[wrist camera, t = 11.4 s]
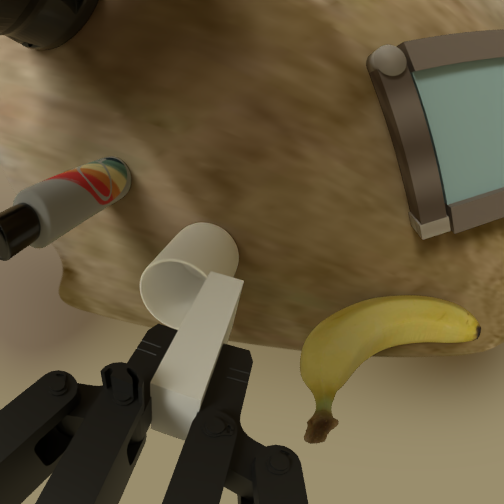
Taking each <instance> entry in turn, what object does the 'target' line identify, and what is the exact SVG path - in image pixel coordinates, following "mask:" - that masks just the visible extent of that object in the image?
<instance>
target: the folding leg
mask: <svg viewBox="0 0 504 504" xmlns="http://www.w3.org/2000/svg"><path fill="white" fill-rule="evenodd" d="M366 66H367V69H368V71H369V74H370V77H371V79H372V82H373V85H374V87H375V90H376V93H377V96H378V98H379V101H380V104H381V107H382V110H383V113H384V116H385V119H386V122H387V125H388V128H389V132H390V135H391V138H392V141H393V145H394V148H395V152H396V155H397V159H398V163H399V166H400V170H401V174H402V178H403V182H404V186H405V190H406V195H407V199H408V203H409V208H410V212H409V217H410V222H411V226H412V227H413V228H414V229H415V231H416V232H417V233H418V235H419V236H420V237H421V239H422V240H424V239H427V238H430V237H433V236H436V235H439V234H443V233H446V232H449V231H451V230H450V222H449V217H448V216H447V215H446V209H445V203H444V198H443V192H442V187H441V182H440V177H439V172H438V167H437V163H436V158H435V154H434V150H433V146H432V142H431V138H430V134H429V131H428V127H427V124H426V120H425V117H424V113H423V110H422V107H421V104H420V100H419V97H418V94H417V91H416V88H415V85H414V83H413V80H412V77H411V74H410V71H409V69H408V66H407V62H406V57H405V55H404V53H403V52H402V51H401V50H400V49H399V48H397V47H396V46H393V45H383V46H381V47H380V48H378V49H377V50H376V51H375V52H373V53H372V54H371V55H370V56H369V57H368V58H367V62H366Z"/></svg>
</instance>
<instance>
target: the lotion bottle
mask: <svg viewBox="0 0 504 504" xmlns="http://www.w3.org/2000/svg"><path fill="white" fill-rule="evenodd" d="M130 185H131V175H130V171H129V169H128V167H127V165H126V164H125V163H124V162H123V161H122V160H121V159H119V158H117V157H105V158H102V159H99V160H96V161H93V162H90V163H87V164H85V165H82V166H79V167H77V168H74V169H71V170H69V171H66V172H64V173H61V174H59V175H56V176H54V177H51V178H49V179H46V180H44V181H42V182H39V183H37V184H35V185H32V186H30V187H28V188H26V189H24V190H22V191H20V192H19V193H18V194H17V195H16V197H15V199H14V203H13V206H12V207H10V208H8V209H6V210H5V211H3V212H1V213H0V260H3V261H7V260H9V259H10V258H12V257H13V256H14V255H16V254H17V253H19V252H20V251H21V250H23V249H24V248H26V247H27V246H29V245H30V246H32V247H34V248H43V247H46V246H47V245H49V244H50V243H52V242H54V241H55V240H57V239H58V238H59V237H61V236H62V235H64V234H65V233H67V232H69V231H70V230H72V229H73V228H75V227H76V226H78V225H79V224H81V223H82V222H84V221H86V220H87V219H89V218H90V217H92V216H93V215H95V214H97V213H98V212H100V211H102V210H103V209H105V208H106V207H108V206H110V205H111V204H113V203H115V202H116V201H118V200H119V199H121V198H122V197H124V196H125V195H126V193H127V192H128V191H129V188H130Z"/></svg>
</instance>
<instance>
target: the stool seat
mask: <svg viewBox="0 0 504 504" xmlns="http://www.w3.org/2000/svg"><path fill="white" fill-rule="evenodd" d="M397 48H399V49H400V50H401V51H402V52H403V53H404V55H405V57H406V62H407V66H408V69H409V71H410V74H411V77H412V80H413V83H414V85H415V88H416V91H417V94H418V97H419V100H420V104H421V107H422V110H423V113H424V117H425V120H426V124H427V127H428V131H429V134H430V138H431V142H432V146H433V150H434V154H435V158H436V163H437V167H438V172H439V177H440V182H441V187H442V192H443V198H444V203H445V209H446V215H447V216H448V217H449V222H450V230H451V231H452V232H453V233H454V234H456V233H459V232H462V231H465V230H468V229H471V228H474V227H477V226H480V225H482V224H485V223H488V222H491V221H494V220H497V219H500V218H503V217H504V30H488V31H475V32H465V33H457V34H449V35H442V36H435V37H429V38H423V39H417V40H411V41H406V42H403V43H401V44H400V45H398V46H397Z"/></svg>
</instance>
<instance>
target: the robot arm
mask: <svg viewBox="0 0 504 504" xmlns="http://www.w3.org/2000/svg"><path fill="white" fill-rule="evenodd" d="M97 2H98V0H0V35H5V36H7V37H9V38H11V39H12V40H14V41H16V42H18V43H20V44H22V45H23V46H25V47H27V48H31V49H41V50H47V49H52V48H55V47H58V46H60V45H62V44H63V43H65V42H66V41H68V40H69V39H70V38H72V37H73V36H74V35H75V34H76V33H77V32H78V31H79V30H80V29H81V28H82V26H83V25H84V24H85V23H86V21H87V20H88V18H89V17H90V15H91V14H92V12H93V10H94V8H95V6H96V4H97ZM243 283H244V280H240V279H236V278H233V277H229V276H226V275H222V274H219V273H215V272H212V271H211V272H210V273H209V275H208V277H207V279H206V281H205V282H204V284H203V286H202V288H201V290H200V291H199V293H198V295H197V297H196V299H195V300H194V302H193V304H192V306H191V308H190V310H189V311H188V313H187V315H186V317H185V319H184V321H183V322H182V324H181V326H180V328H179V330H176V329H173V328H170V327H167V326H164V325H161V324H157V325H156V326H154V327H153V328H151V329H149V330H148V331H147V333H146V334H145V336H144V338H143V339H142V342H141V343H140V344H139V345H138V347H137V349H136V350H135V352H134V353H133V355H132V356H131V358H130V359H129V361H128V363H122V362H119V363H112V364H109V365H107V366H105V367H104V368H103V369H102V370H101V377H102V382H103V386H92V385H85V384H79V383H77V382H76V380H75V379H74V377H73V376H72V375H71V374H69V373H67V372H65V371H59V370H58V371H51V372H49V373H47V374H45V375H44V376H43V377H41V378H40V379H39V380H38V381H37V382H36V383H34V384H33V385H31V386H30V387H29V388H27V389H26V390H25V391H24V392H22V393H21V394H20V395H19V396H17V397H16V398H15V399H14V400H12V401H11V402H10V403H9V404H8V405H6V406H5V407H4V408H3V409H1V410H0V504H21V503H22V502H23V501H24V500H25V499H26V498H27V497H28V496H29V495H30V494H31V493H32V492H33V491H34V490H35V489H36V488H37V487H38V486H39V485H40V484H41V483H42V482H43V481H44V480H45V479H46V478H47V477H49V476H50V474H52V475H51V476H50V478H49V480H48V482H47V483H46V485H45V487H44V489H43V491H42V492H41V494H40V496H39V498H38V500H37V502H36V503H35V504H118V503H119V501H120V499H121V496H122V494H123V492H124V489H125V487H126V485H127V483H128V480H129V478H130V476H131V474H132V471H133V469H134V467H135V465H136V462H137V460H138V458H139V456H140V453H141V451H142V449H143V447H144V444H145V441H146V432H147V430H148V428H149V426H150V424H151V429H153V430H156V431H159V432H161V433H164V434H167V435H170V436H173V437H176V438H179V439H182V440H185V443H184V445H183V448H182V451H181V454H180V456H179V459H178V462H177V464H176V467H175V470H174V473H173V475H172V478H171V481H170V484H169V486H168V489H167V492H166V494H165V497H164V500H163V502H162V504H219V502H220V499H221V495H222V491H223V487H226V488H227V489H229V490H231V491H233V492H234V493H236V494H237V496H238V504H308V500H307V494H306V489H305V483H304V478H303V472H302V467H301V462H300V460H299V458H298V456H297V455H296V454H295V453H294V452H293V451H292V450H291V449H289V448H287V447H285V446H280V445H272V446H267V447H266V446H264V445H262V444H260V443H258V442H256V441H255V440H253V439H252V438H250V437H249V436H247V434H246V433H245V432H244V431H243V429H242V427H241V423H240V414H241V410H242V406H243V402H244V397H245V393H246V389H247V385H248V380H249V376H250V372H251V368H252V363H253V361H252V357H251V354H250V351H249V350H245V349H242V348H238V347H235V346H231V345H227V342H228V339H229V336H230V333H231V330H232V327H233V323H234V319H235V315H236V311H237V307H238V303H239V299H240V295H241V291H242V287H243Z"/></svg>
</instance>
